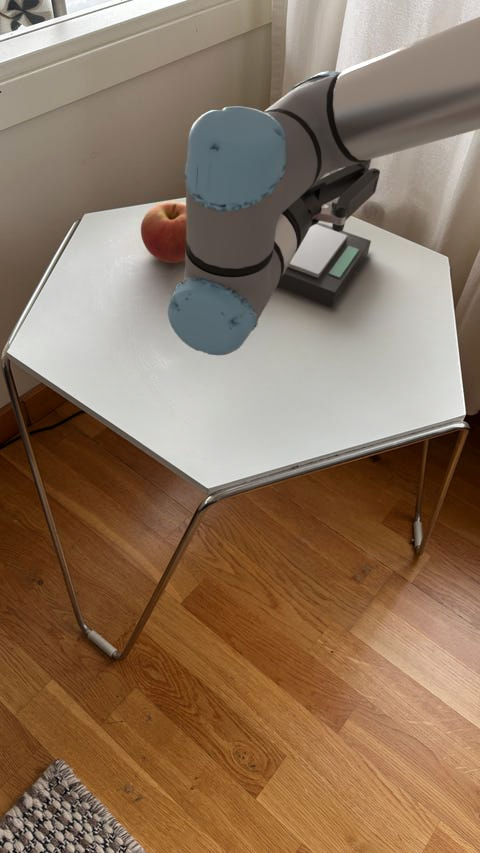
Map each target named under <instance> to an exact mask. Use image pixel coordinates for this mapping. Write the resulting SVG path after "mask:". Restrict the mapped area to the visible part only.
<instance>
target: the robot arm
mask: <svg viewBox="0 0 480 853" xmlns="http://www.w3.org/2000/svg"><path fill="white" fill-rule="evenodd" d="M477 130H480V16H478V17H475V18H473V19H470V20H467V21H465V22H463V23H460V24H457V25H455V26H452V27H450V28H448V29H444V30H443V31H440V32H437V33H435V34H432V35H430V36H427V37H424V38H422V39H420V40H417V41H415V42H412V43H409V44H407V45H405V46H402V47H399V48H397V49H394V50H392V51H389V52H387V53H383V54H382V55H379V56H377V57H374V58H371V59H369V60H366V61H364V62H361V63H358V64H356V65H353V66H351V67H349V68H346V69H344V70H343V71H340V72H339V71H332V70H329V71H328V70H327V71H322V72H319V73H317V74H315V75H313V76H311V77H309V78H306V79H304V80H303V81H300V82H299V83H297V84H296V85H293V87H292V88H291V90H289V92H287V94H285V95H284V96H283V97H280V99H279V100H277V101H275V103H273V104H272V105H271V106H269V107H268V108H267V109H265V110H264V111H262V110H259V109H256V108H251V107H247V106H246V107H245V106H225V107H224V108H222V109H221V110H217V109H213V110H209V111H207V112H205V113H203V114H201V115H200V116H199V117H198V118H196V120H195V121H194V123H193V124H192V126H191V128H190V130H189V133H188V142H187V158H186V164H185V165H184V171H185V173H184V180H185V204H186V240H187V244H186V259H185V271H184V277H183V280H182V281H181V282H179V283H178V284H177V285H176V286H175V289H174V293H173V295H172V297H171V298H170V300H169V303H168V306H167V318H168V321H169V324H170V327H171V328H172V330H173V332H174V333H175V334H176V336H177V337H178V339H180V340H181V341H182V342H183V343H184V344H185V345H186V346H188V347H189V348H190V349H191V348H192V349H193V350H195V351H197V352H202V353H204V354H207V355H209V356H226V355H229V354H231V353H233V352H235V351H237V350H238V349H240V348H241V347H242V346H243V344H244V343H245V342H246V340H247V339H248V337H249V336H250V334H251V333H252V332H253V331H254V330H255V329H256V328H257V326H258V324H259V323H258V321H259V319H260V317H261V316H262V314H263V312H264V310H265V309H266V306H267V305H268V303H269V301H270V300H271V298H272V296H273V294H274V292H275V290H276V289H277V288H278V287H277V285H278V283H279V281H280V279H281V278H282V276H283V274H284V272H285V271H286V269H287V267H288V265H289V264H290V262H291V260H292V258H293V257H294V255H295V253H296V252H297V250H298V248H299V246H300V245H301V243H302V241H303V239H304V238H305V236H306V234H307V232H308V230H309V228H310V227H311V226H313V225H315V224H317V223H318V222H319V223H320V222H324V223H328V224H332V225H331V227H332V229H333V230H334V231H337V232H340V231H344V229H345V224H346V221H347V220H348V219H349V218H350V217H351V216H352V215H353V214H354V213H356V212H357V210H359V208H361V207H362V206H363V205H364V204H365V203H366V202H367V201H368V200H369V199H370V198H372V196H373V195H375V194H376V191H377V187H378V184H379V183H378V182H379V180H380V179H379V178H380V174H381V170H380V169H378V168H375V167H374V168H371V163H372V160H374V159H377V158H381V157H384V156H388V155H391V154H395V153H399V152H402V151H406V150H409V149H413V148H417V147H420V146H424V145H427V144H431V143H434V142H438V141H441V140H445V139H449V138H452V137H457V136H460V135H464V134H467V133H471V132H474V131H477ZM337 169H339V170H338V171H336V172H334V173H332V174H329V172H331V171H334V170H337ZM325 175H326V176H325ZM323 176H324V178H322V177H323ZM321 178H322V179H321ZM337 199H338V200H337ZM330 202H331V204H329V205H328V206H327V207H324V208H322V206H323V205H324V204H325V205H326V204H328V203H330Z"/></svg>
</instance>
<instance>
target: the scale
mask: <svg viewBox="0 0 480 853" xmlns="http://www.w3.org/2000/svg"><path fill="white" fill-rule="evenodd" d="M371 242H372V240H370V239H367V238H364V237H362V236H359V235H356V234H353V233H350V232H348V231H344V230H343V231H340V232H337V231H334V230H333V229H332V225H331V226H330V225H328V224H325V223H322V222H320V221H319V222H318V223H317V224H315V225H313V226H311V227H310V228H309V230H308V232H307V234H306V236H305V238H304V239H303V241H302V243H301V245H300V246H299V248H298V250H297V252H296V253H295V255H294V257H293V258H292V260H291V262H290V264H289V265H288V267H287V269H286V271H285V272H284V274H283V276H282V278H281V279H280V281H279V283H278V285H277V287H276V288H279V289H282V290H285V291H287V292H290V293H292V294H295V295H297V296H301V297H303V298H306V299H309V300H311V301H313V302H316V303H319V304H321V305H324V306H326V307H329V308H333V306H334V305H335V304H336V302H337V301H338V299H339V298H340V296H341V295H342V293H343V292H344V290H345V289H346V288H347V286H348V285H349V283H350V282H351V280H352V279H353V277H354V276H355V274H356V273H357V272H358V270H359V269H360V268H361V266H362V264H363V263H364V261H365V260H366V258H367V257H368V255H369V250H370V246H371Z"/></svg>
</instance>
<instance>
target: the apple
mask: <svg viewBox="0 0 480 853" xmlns="http://www.w3.org/2000/svg"><path fill="white" fill-rule="evenodd" d="M140 237H141V240H142V242H143V245H144V246H145V249H146V250H147V251H148V253H150V255H152V256H153V257H155V258H156V259H157V260H159V261H162V262H165V263H166V262H167V263H171V264H177V263H180V262H183V261H185V260H186V244H187V240H186V203H184V202H181V201H167V202H161V203H159V204H157V205H155V206H153V207H152V208H150V209H149V210H148V211H147V212H146V213H145V215H144V217H143V219H142V221H141V224H140Z"/></svg>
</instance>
